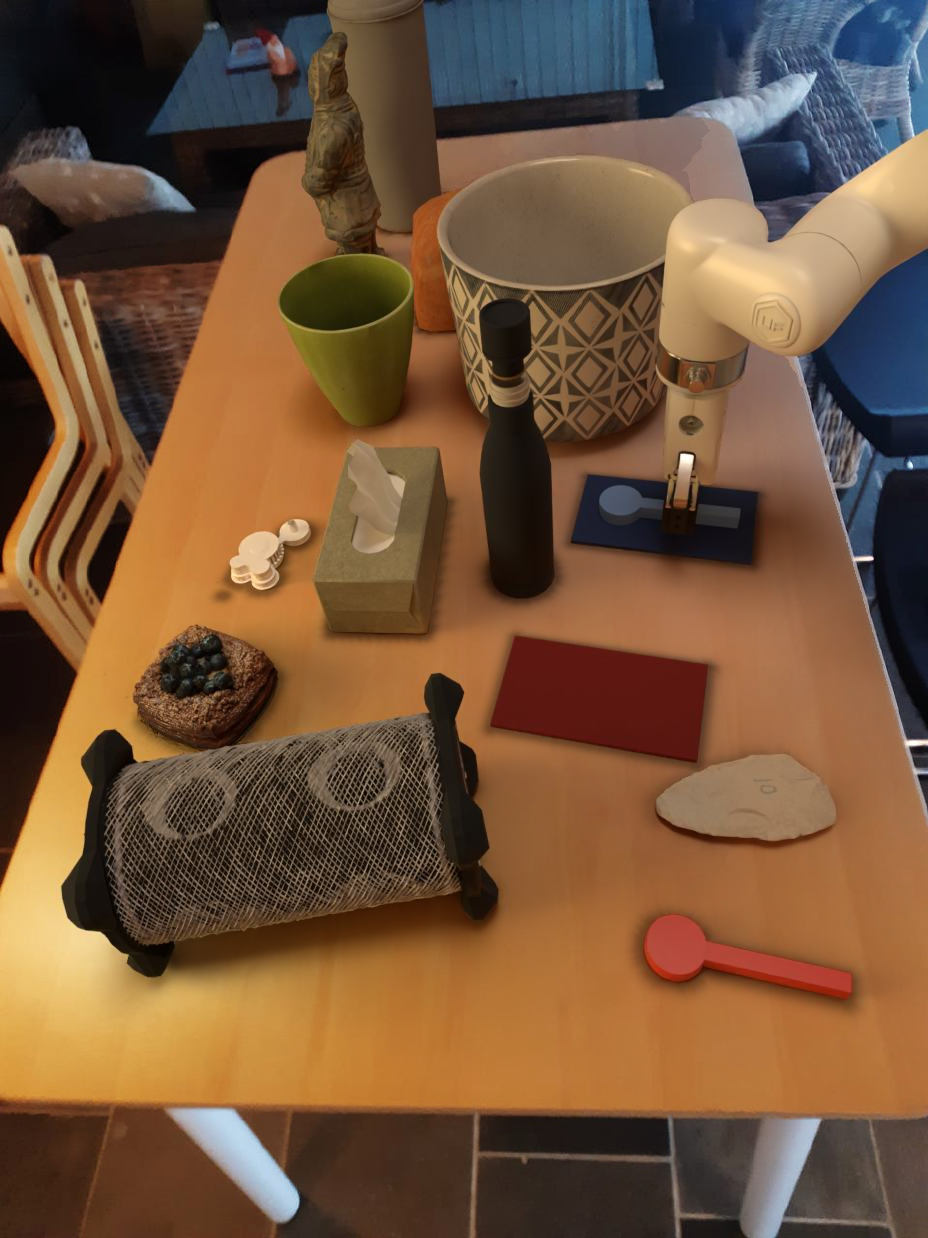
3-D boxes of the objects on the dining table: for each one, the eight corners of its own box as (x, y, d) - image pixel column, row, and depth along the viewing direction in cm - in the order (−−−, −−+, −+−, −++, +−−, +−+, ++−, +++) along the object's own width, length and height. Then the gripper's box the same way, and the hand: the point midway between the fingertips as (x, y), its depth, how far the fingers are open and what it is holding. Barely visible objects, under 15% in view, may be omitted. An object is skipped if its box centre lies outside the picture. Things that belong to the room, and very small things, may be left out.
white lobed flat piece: (303, 588, 91) (298, 575, 89) (222, 594, 92) (216, 581, 90) (312, 523, 97) (307, 509, 95) (236, 529, 97) (230, 515, 96)
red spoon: (846, 958, 64) (852, 951, 62) (846, 1021, 61) (852, 1016, 60) (648, 915, 67) (650, 908, 66) (640, 973, 64) (642, 967, 63)
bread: (667, 308, 114) (678, 189, 102) (417, 339, 116) (398, 225, 103) (646, 252, 123) (654, 136, 111) (414, 281, 124) (396, 170, 112)
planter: (630, 491, 95) (642, 310, 78) (420, 434, 104) (390, 261, 87) (706, 351, 108) (731, 171, 91) (514, 312, 117) (504, 141, 100)
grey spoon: (739, 508, 91) (741, 497, 90) (736, 539, 89) (738, 528, 87) (602, 493, 94) (603, 482, 93) (595, 523, 92) (596, 512, 91)
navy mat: (757, 494, 93) (758, 491, 92) (751, 564, 87) (751, 562, 87) (587, 476, 97) (587, 473, 97) (570, 542, 91) (570, 540, 91)
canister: (445, 235, 131) (410, -48, 104) (362, 240, 133) (306, -38, 105) (452, 192, 139) (421, -82, 111) (373, 197, 140) (324, -71, 113)
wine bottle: (485, 594, 88) (452, 335, 64) (498, 547, 92) (471, 286, 68) (548, 601, 87) (539, 339, 63) (559, 553, 90) (554, 289, 67)
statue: (332, 252, 131) (279, 23, 108) (394, 250, 130) (354, 17, 106) (317, 295, 125) (258, 60, 101) (382, 293, 123) (337, 54, 100)
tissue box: (362, 499, 98) (331, 383, 86) (448, 499, 97) (429, 381, 84) (329, 635, 87) (288, 523, 74) (427, 637, 85) (401, 524, 73)
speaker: (154, 811, 77) (77, 722, 65) (476, 755, 77) (458, 656, 65) (138, 989, 67) (45, 922, 56) (505, 925, 68) (490, 845, 56)
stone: (842, 839, 69) (849, 828, 68) (666, 860, 70) (668, 849, 68) (810, 751, 74) (815, 739, 72) (646, 771, 74) (647, 759, 73)
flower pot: (455, 390, 108) (440, 271, 96) (384, 464, 101) (357, 345, 89) (360, 358, 114) (334, 241, 102) (287, 425, 107) (249, 309, 95)
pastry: (226, 765, 79) (205, 732, 74) (126, 720, 83) (99, 685, 78) (294, 672, 84) (277, 635, 80) (196, 633, 89) (175, 597, 84)
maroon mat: (707, 666, 80) (708, 664, 80) (696, 762, 74) (697, 760, 74) (515, 637, 84) (514, 635, 84) (490, 726, 79) (490, 724, 78)
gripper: (739, 423, 70) (712, 567, 83) (753, 298, 80) (727, 445, 93) (643, 415, 71) (632, 557, 85) (669, 294, 81) (655, 438, 95)
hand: (682, 498), depth 89 cm, fingers open, 8 cm apart
